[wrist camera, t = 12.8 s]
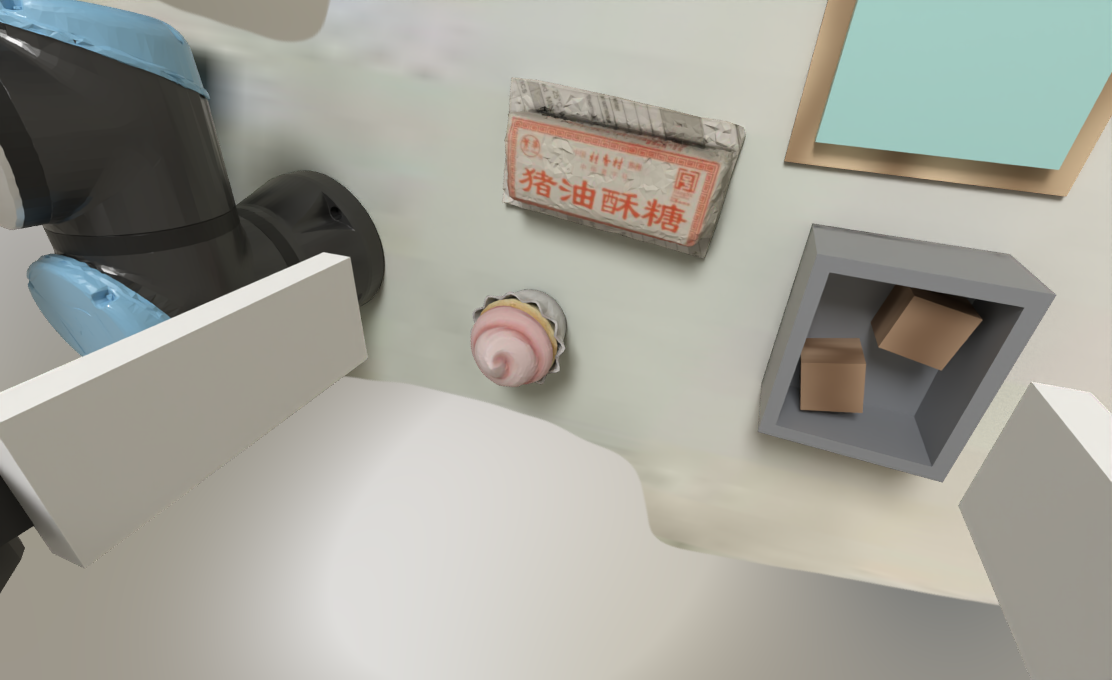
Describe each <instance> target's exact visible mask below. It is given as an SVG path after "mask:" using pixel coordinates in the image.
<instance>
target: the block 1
mask: <svg viewBox="0 0 1112 680" xmlns="http://www.w3.org/2000/svg"><path fill="white" fill-rule="evenodd" d="M865 373H866V362H865V358H864V354H863V350H862V346H861V342H860V338H806V341H805V343H804V346H803V349H802V352H801V355H800V409H801V410H815V411H834V412H852V413H863V399H864V386H865Z"/></svg>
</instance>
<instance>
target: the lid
mask: <svg viewBox="0 0 1112 680" xmlns="http://www.w3.org/2000/svg"><path fill="white" fill-rule="evenodd" d="M1111 72H1112V0H856V3H855V6H854V10H853V13H852V16H851V20H850V23H849V27H848V30H847V33H846V37H845V40H844V43H843V47H842V50H841V53H840V57H839V60H838V63H837V67H836V70H835V73H834V77H833V80H832V83H831V87H830V90H829V94H828V97H827V100H826V104H825V107H824V110H823V114H822V117H821V120H820V124H819V127H818V130H817V134H816V137H815V142H820V143H828V144H837V145H846V146H855V147H863V148H872V149H881V150H889V151H898V152H907V153H915V154H924V155H933V156H941V157H950V158H959V159H968V160H976V161H985V162H994V163H1002V164H1011V165H1020V166H1028V167H1037V168H1046V169H1055V170H1059V169H1060V167H1061V165H1062V163H1063V161H1064V160H1065V158H1066V156H1067V154H1068V152H1069V150H1070V148H1071V147H1072V145H1073V143H1074V141H1075V139H1076V137H1077V135H1078V134H1079V132H1080V130H1081V128H1082V126H1083V124H1084V122H1085V121H1086V119H1087V117H1088V115H1089V113H1090V111H1091V110H1092V108H1093V106H1094V104H1095V102H1096V100H1097V98H1098V97H1099V95H1100V93H1101V91H1102V89H1103V87H1104V85H1105V84H1106V82H1107V80H1108V78H1109V76H1110V74H1111Z"/></svg>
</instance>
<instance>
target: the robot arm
mask: <svg viewBox="0 0 1112 680" xmlns="http://www.w3.org/2000/svg"><path fill="white" fill-rule="evenodd" d="M208 100H210V98H209V94H208V92H207V91H206V90H205V89H204V88H203V86H202V83H201V79H200V76H199V73H198V70H197V67H196V64H195V61H194V58H193V55H192V52H191V49H190V47H189V45H188V43H187V41H186V40H185V38H184V37H183V36H182V35H181V34H180V33H179V32H178V31H177V30H176V29H174V28H173V27H172V26H170V25H169V24H167V23H165V22H163V21H160V20H158V19H155V18H152V17H149V16H146V15H142V14H138V13H134V12H130V11H125V10H121V9H116V8H112V7H107V6H102V5H97V4H92V3H87V2H82V1H76V0H0V226H1V227H3V228H6V229H9V230H15V229H21V228H27V227H32V226H38V225H43V227H44V229H45V232H46V233H47V236H48V238H49V240H50V242H51V244H52V246H53V249H54V252H55V254H48V255H44V256H41V257H40V258H39V259H38V260H37V261H35V262H34V263H32V264H31V265H30V266H29V268H28V270H27V278H28V279H29V283H28V287H29V290H30V292H31V295H32V297H33V299H34V300H35V302H36V304H37V306H38V307H39V309H40V310H41V312H42V313H43V315H44V316H45V318H46V319H47V320H48V321H49V323H50V324H51V325H52V326H53V328H54V329H55V330H56V331H57V332H58V333H59V334H60V336H61V337H62V338H63V339H64V340H65V341H66V342H67V343H68V344H69V345H70V346H71V347H72V348H73V349H74V350H75V351H77V353H79V354H80V355H81V356H82V357H81V358H79V359H76V360H74V361H72V362H69V363H67V364H65V365H63V366H60V367H58V368H56V369H53V370H51V371H49V372H46V373H44V374H42V375H39V376H37V377H35V378H32V379H30V380H28V381H26V382H23V383H21V384H19V385H17V386H14V387H12V388H10V389H7V390H5V391H3V392H0V593H1V591H2V589H3V588H4V586H5V584H6V583H7V581H8V580H9V578H10V576H11V575H12V573H13V571H14V570H15V568H16V567H17V565H18V563H19V562H20V560H21V558H22V555H23V552H24V549H25V547H24V546H23V544H22V542H21V540H20V539H19V537H18V535H20V534H21V533H23V532H25V531H26V530H28V529H29V528H31V527H33V526H34V527H35V528H36V530H37V531H38V533H39V534H40V536H41V537H42V538H43V540H44V542H45V543H46V545H47V546H48V547H49V549H50V550H51V552H52V553H54V554H56V555H58V556H60V557H62V558H64V559H66V560H68V561H70V562H72V563H74V564H76V565H78V566H80V567H83V568H87V567H88V566H89V565H91V564H92V563H93V562H95V561H96V560H98V559H99V558H100V557H102V556H103V555H104V554H106V553H107V552H108V551H110V550H111V549H112V548H114V547H115V546H116V545H118V544H119V543H120V542H122V541H123V540H124V539H126V538H127V537H128V536H130V535H131V534H132V533H134V532H135V531H137V530H138V529H139V528H141V527H142V526H143V525H145V524H146V523H147V522H149V521H150V520H151V519H153V518H154V517H155V516H157V515H158V514H159V513H161V512H162V511H163V510H165V509H166V508H167V507H169V506H170V505H171V504H173V503H174V502H175V501H177V500H178V499H180V498H181V497H182V496H184V495H185V494H186V493H188V492H189V491H190V490H192V489H193V488H194V487H196V486H197V485H198V484H200V483H201V482H202V481H204V480H205V479H206V478H208V477H209V476H210V475H212V474H213V473H215V472H216V471H217V470H219V469H220V468H221V467H223V466H224V465H225V464H227V463H228V462H229V461H231V460H232V459H233V458H235V457H236V456H237V455H239V454H240V453H241V452H242V451H244V450H245V449H247V448H248V447H249V446H251V445H252V444H254V443H255V442H256V441H258V440H259V439H260V438H262V437H263V436H264V435H266V434H267V433H268V432H269V431H271V430H272V429H274V428H275V427H276V426H278V425H279V424H280V423H282V422H283V421H284V420H286V419H287V418H288V417H290V416H291V415H293V414H294V413H295V412H297V411H298V410H299V409H301V408H302V407H303V406H304V405H306V404H307V403H309V402H310V401H311V400H313V399H314V398H315V397H317V396H318V395H319V394H321V393H322V392H323V391H325V390H326V389H327V388H329V387H330V386H332V385H333V384H334V383H336V382H337V381H338V380H339V379H341V378H342V377H344V376H345V375H346V374H348V373H349V372H350V371H352V370H353V369H354V368H356V367H357V366H358V365H360V364H361V363H362V362H364V361H365V360H366V359H368V355H367V350H366V344H365V338H364V333H363V327H362V321H361V315H360V310H359V307H360V306H362V305H363V304H365V303H367V302H368V301H369V300H371V299H372V298H373V297H374V295H375V294H376V293H377V291H378V289H379V287H380V284H381V281H382V277H383V268H384V261H383V252H382V247H381V243H380V240H379V237H378V234H377V231H376V229H375V227H374V225H373V223H372V221H371V219H370V217H369V215H368V214H367V212H366V211H365V209H364V208H363V206H362V205H361V204H360V202H359V201H358V200H357V199H356V198H355V197H354V196H353V195H352V194H351V193H350V192H349V191H348V190H347V189H346V188H345V187H344V186H342V185H341V184H340V183H338V182H337V181H335V180H334V179H332V178H330V177H328V176H326V175H324V174H321V173H318V172H314V171H296V172H292V173H287V174H283V175H280V176H277V177H275V178H272V179H271V180H269V181H267V182H266V183H265V184H264V185H262V186H261V187H260V188H258V189H257V190H256V191H254V192H253V193H252V194H251V195H249V196H248V197H247V198H245V199H244V200H243V201H241V202H240V203H239V204H238V205H236V204H235V201H234V197H233V193H232V189H231V186H230V182H229V178H228V174H227V171H226V167H225V163H224V159H223V156H222V152H221V148H220V145H219V141H218V137H217V133H216V130H215V126H214V122H213V118H212V115H211V111H210V107H209V103H208ZM958 506H959V508H960V510H961V513H962V515H963V518H964V520H965V522H966V525H967V527H968V530H969V532H970V534H971V537H972V539H973V542H974V544H975V546H976V549H977V551H978V554H979V556H980V558H981V561H982V563H983V566H984V568H985V570H986V573H987V575H988V578H989V580H990V582H991V585H992V587H993V590H994V592H995V594H996V597H997V599H998V602H999V604H1000V606H1001V609H1002V611H1003V613H1004V616H1005V618H1006V621H1007V623H1008V626H1009V628H1010V630H1011V633H1012V635H1013V638H1014V640H1015V643H1016V645H1017V647H1018V650H1019V652H1020V654H1021V657H1022V659H1023V662H1024V664H1025V667H1026V669H1027V671H1028V674H1029V676H1030V678H1031V680H1112V414H1111V413H1110V412H1109V411H1108V410H1107V409H1106V408H1105V407H1104V406H1103V404H1102V403H1101V402H1100V401H1099V400H1098V399H1097V398H1096V397H1095V396H1094V395H1093V394H1092V393H1091V392H1086V391H1080V390H1075V389H1069V388H1064V387H1058V386H1053V385H1047V384H1042V383H1037V382H1031V383H1030V384H1029V386H1028V388H1027V389H1026V391H1025V393H1024V395H1023V396H1022V398H1021V400H1020V401H1019V403H1018V405H1017V406H1016V408H1015V410H1014V412H1013V413H1012V415H1011V417H1010V418H1009V420H1008V422H1007V423H1006V425H1005V427H1004V428H1003V430H1002V432H1001V434H1000V435H999V437H998V439H997V440H996V442H995V444H994V445H993V447H992V449H991V451H990V452H989V454H988V456H987V457H986V459H985V461H984V462H983V464H982V466H981V468H980V469H979V471H978V473H977V474H976V476H975V478H974V479H973V481H972V483H971V484H970V486H969V488H968V490H967V491H966V493H965V495H964V496H963V498H962V500H961V501H960V503H959V505H958Z"/></svg>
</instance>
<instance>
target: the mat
mask: <svg viewBox="0 0 1112 680" xmlns="http://www.w3.org/2000/svg"><path fill="white" fill-rule="evenodd" d="M855 3H856V0H828V2H827V6H826V9H825V13H824V17H823V20H822V24H821V28H820V31H819V35H818V39H817V42H816V46H815V50H814V53H813V57H812V61H811V64H810V68H809V72H808V75H807V79H806V83H805V86H804V90H803V94H802V97H801V101H800V105H799V108H798V112H797V116H796V119H795V123H794V127H793V130H792V134H791V138H790V141H789V145H788V149H787V152H786V156H785V160H784V161H785V162H794V163H802V164H810V165H818V166H826V167H834V168H842V169H850V170H858V171H866V172H874V173H882V174H890V175H898V176H906V177H914V178H922V179H930V180H938V181H946V182H954V183H962V184H970V185H978V186H986V187H994V188H1002V189H1010V190H1018V191H1026V192H1034V193H1042V194H1050V195H1058V196H1067V194H1068V193H1069V191H1070V189H1071V187H1072V185H1073V184H1074V182H1075V180H1076V178H1077V176H1078V175H1079V173H1080V171H1081V169H1082V167H1083V166H1084V164H1085V162H1086V160H1087V159H1088V157H1089V155H1090V153H1091V151H1092V150H1093V148H1094V146H1095V144H1096V142H1097V141H1098V139H1099V137H1100V135H1101V133H1102V132H1103V130H1104V128H1105V126H1106V124H1107V123H1108V121H1109V119H1110V117H1111V116H1112V72H1111V74H1110V76H1109V78H1108V80H1107V82H1106V84H1105V85H1104V87H1103V89H1102V91H1101V93H1100V95H1099V97H1098V98H1097V100H1096V102H1095V104H1094V106H1093V108H1092V110H1091V111H1090V113H1089V115H1088V117H1087V119H1086V121H1085V122H1084V124H1083V126H1082V128H1081V130H1080V132H1079V134H1078V135H1077V137H1076V139H1075V141H1074V143H1073V145H1072V147H1071V148H1070V150H1069V152H1068V154H1067V156H1066V158H1065V160H1064V161H1063V163H1062V165H1061V167H1060V169H1059V170H1055V169H1046V168H1037V167H1028V166H1020V165H1011V164H1002V163H994V162H985V161H976V160H968V159H959V158H950V157H941V156H933V155H924V154H915V153H907V152H898V151H889V150H881V149H872V148H863V147H855V146H846V145H837V144H828V143H820V142H815V137H816V134H817V130H818V127H819V124H820V120H821V117H822V114H823V110H824V107H825V104H826V100H827V97H828V94H829V90H830V87H831V83H832V80H833V77H834V73H835V70H836V67H837V63H838V60H839V57H840V53H841V50H842V47H843V43H844V40H845V37H846V33H847V30H848V27H849V23H850V20H851V16H852V13H853V10H854V6H855Z"/></svg>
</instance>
